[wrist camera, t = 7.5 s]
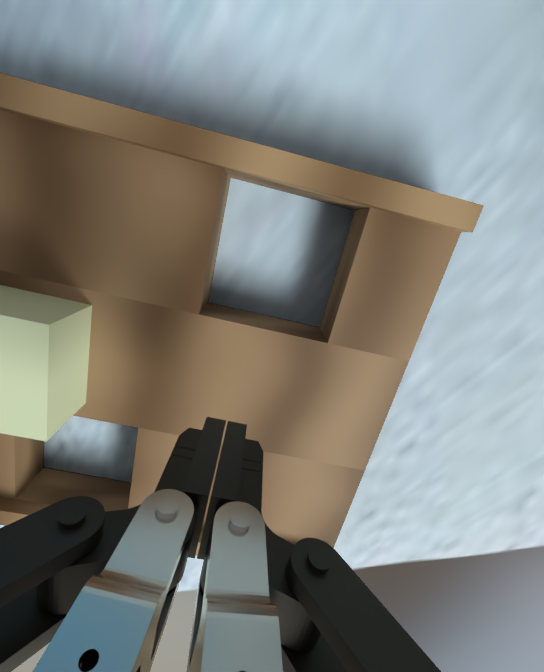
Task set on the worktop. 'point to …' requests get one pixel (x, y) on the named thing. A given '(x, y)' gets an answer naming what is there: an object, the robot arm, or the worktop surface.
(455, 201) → the trap tray
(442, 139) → the worktop surface
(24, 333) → the block
